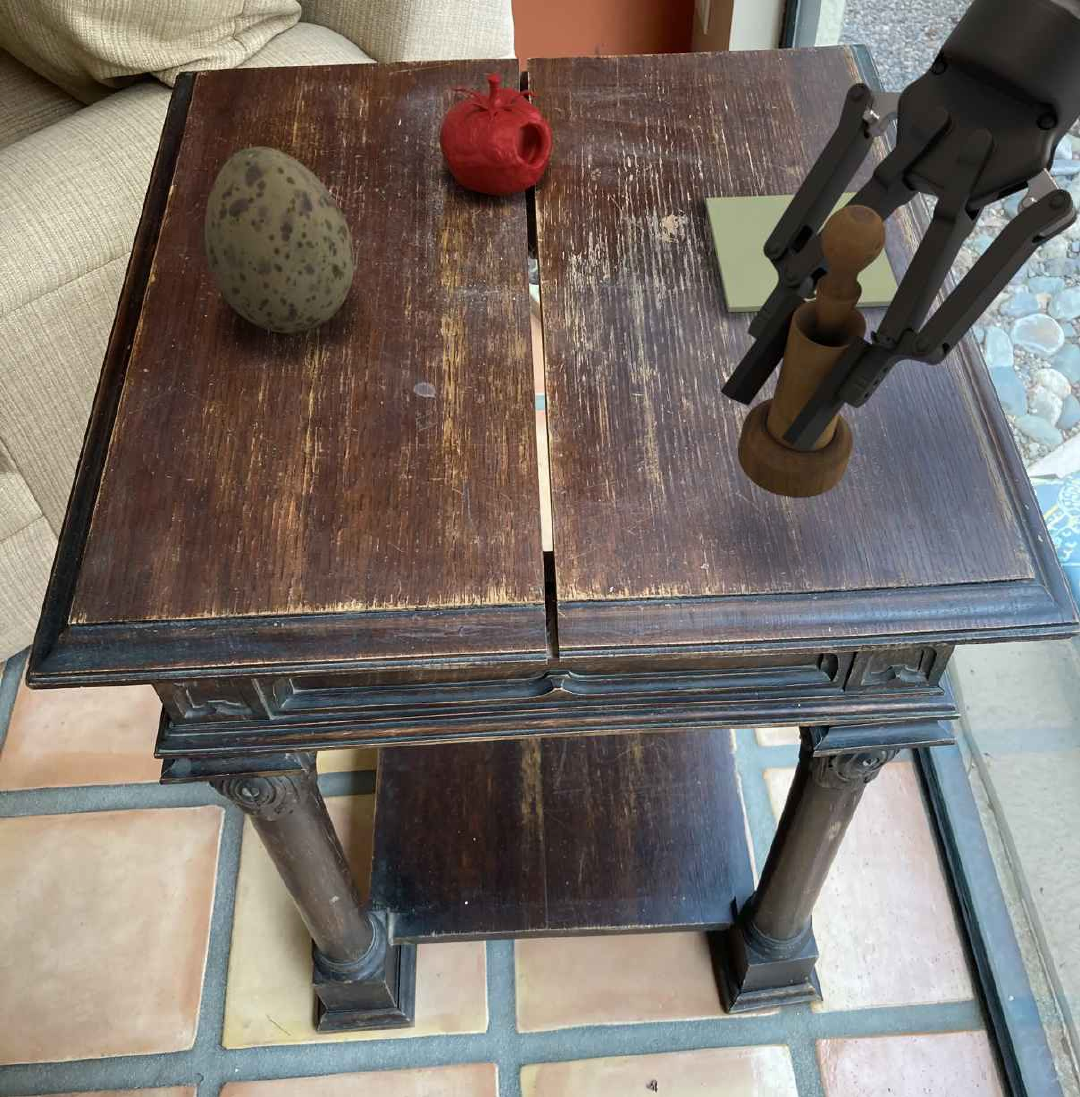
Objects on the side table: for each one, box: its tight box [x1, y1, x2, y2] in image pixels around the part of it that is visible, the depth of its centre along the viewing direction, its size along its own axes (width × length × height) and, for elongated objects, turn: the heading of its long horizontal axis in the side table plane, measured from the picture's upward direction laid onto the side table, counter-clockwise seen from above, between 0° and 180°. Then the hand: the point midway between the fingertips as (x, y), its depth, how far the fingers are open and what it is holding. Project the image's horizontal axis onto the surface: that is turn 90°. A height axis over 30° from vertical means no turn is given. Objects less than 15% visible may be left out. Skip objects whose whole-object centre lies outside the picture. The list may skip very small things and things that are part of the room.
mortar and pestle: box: [737, 205, 886, 499], centre depth 57 cm, size 7×6×18 cm
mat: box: [704, 191, 899, 313], centre depth 88 cm, size 14×14×1 cm
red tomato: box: [438, 72, 553, 196], centre depth 91 cm, size 10×10×9 cm
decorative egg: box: [204, 146, 355, 334], centre depth 79 cm, size 11×11×15 cm
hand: (765, 420), depth 58 cm, fingers closed on mortar and pestle, 4 cm apart
